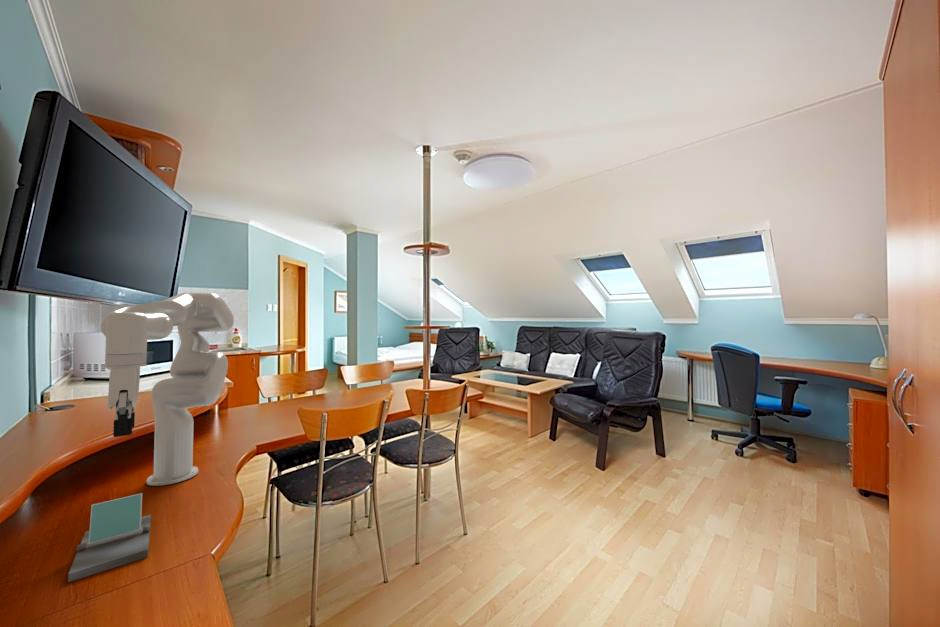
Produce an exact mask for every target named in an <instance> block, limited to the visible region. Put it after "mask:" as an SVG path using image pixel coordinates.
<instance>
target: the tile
mask: <svg viewBox="0 0 940 627" xmlns="http://www.w3.org/2000/svg"><path fill="white" fill-rule="evenodd" d="M142 506H143V493H142V492H141V493H136V494H132V495H128V496H123V497H119V498H115V499H111V500H106V501H102V502H101V501H100V502H98V503H93V504H91V508H90V517H89V518H90V519H89V530H88V531H89V542H88V544H91V543H94V542H98V541H101V540H105V539H108V538H112V537H115V536H119V535H123V534H126V533H130V532H133V531H137V530H140V529H141V517H142V509H143V507H142Z"/></svg>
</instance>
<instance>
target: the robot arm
mask: <svg viewBox="0 0 940 627" xmlns="http://www.w3.org/2000/svg"><path fill="white" fill-rule="evenodd" d="M234 323H235V322H234V314H233V313H232V311H231V309H230V308H229V306H228V304H227V303H226V301H225V300H224V298H222V297H221V296H220V295H218V294H216V293H214V292H213V293H211V292H182V293H178V294H175V295H173V296H170V297H169V298H166V299H164V300H158V301H151V302H148V303H142V304H135V305H128V306H125V307H121V308H119V309H116V310H112V311H111V312H109V313H108V314H106V315H105V316H104V318H103V319H102V321H101V323H100V331H101V333H102V335H103V336H104V337H105V348H104V349H105V350H104V351H105V355H104V368H105V369H110V371H109V377H108V378H109V380H108V394H107V396H108V397H107V406H106V407H107V409H109V410H112V409H113V408H115V412H114V413H115V414H114V420H113V431H112V432H113V437H114V438H118V437H125V436H131V435H132V433H133V429H134V428H135V422H136V421H135V419H136V418H135V417H136V416H135V415H136V414H135V413H136V412H134V411H135V406H136V404H137V402H138V399H139V398H138V397H139V392H140V391H139V390H140V377H141V367H146V366H147V359H148V358H147V356H148V352H147V351H148V341H149V340H150V341H155V340H162V339H164V338H167V337H169V336H170V335H171V333H172V332H173V330H174V327H176V326H177V331H178V334H179V338H180V346H179V348H178V350H177V352H176V354H175V357H173V358H174V359H173V361H172V363H171V366H170V369H169V374H170V376H171V377H170V378H165V379H161V380H159V381H158V382H157V383H155V384H154V386H152V389H151V402H152V406H153V412H154V444H153V445H154V447H153V448H154V449H153V474H150V475H149V476H148V477H147V479H146V485H148V486H155V487H159V486H160V487H161V486H167V485H168V486H169V485H173V484H177V483H181V482H184V481H186V480H188V479H191V478H193V477H195V476H197V474H198V473H199V468H198V466H196V465H195V466H194V465H193V464H194V463H193V462H194V459H193V458H194V454H193V453H194V447H193V446H194V425H195V424H194V422H195V421H194V418H193V415H192V413H191V412H190V411H189V409H188V408H190V407H191V408H196V407H206V406H207V407H208V406H211V405H214V404H215V403H216V402H217V401H218V400H219V397H220V395H221V391H222V390H223V385H224V383H225V379H226V377H227V373H228V369H229V361H228V358H227V355H226V354H224V353H222V352H216V351H210V349H211V345H210V343H209V341H208V340H207V339H206V338H205V336H203V335H202V334H201V333H200V332H202V333H203V332H204V333H205V332H208V333H209V332H211V333H213V332H215V333H216V332H228V331H229V330H231V329H232V328H233V327H234V326H233V325H234Z"/></svg>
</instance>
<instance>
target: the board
mask: <svg viewBox="0 0 940 627" xmlns="http://www.w3.org/2000/svg"><path fill="white" fill-rule="evenodd" d="M151 523H152V514H148V515H144V516H141V529H140V530H137V531H133V532H130V533H126V534H123V535H119V536H115V537H112V538H108V539H105V540H101V541H98V542H94V543H91V544H88V542H89V530H86V531H85V532H84V534H83V537H82V539H81V542H80V544H77V545H76V552H77V553H76V554H75V556H74V559H73V561H72V564H71V567H70V568H69V569H70V570H69V572H68V575H67V576H68V577H67V583H70V582H71V583H72V582H73V581H77V580H80V579H82V578H86V577H89V576H92V575H96V574H98V573H102V572H105V571H107V570H110V569H111V570H112V569H113V568H118V567H120V566H123V565H126V564H129V563H133V562H135V561H139V560H143V559H144V558H148V556H149V548H150V547H149V545H150V535H151V534H150V533H151Z"/></svg>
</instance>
